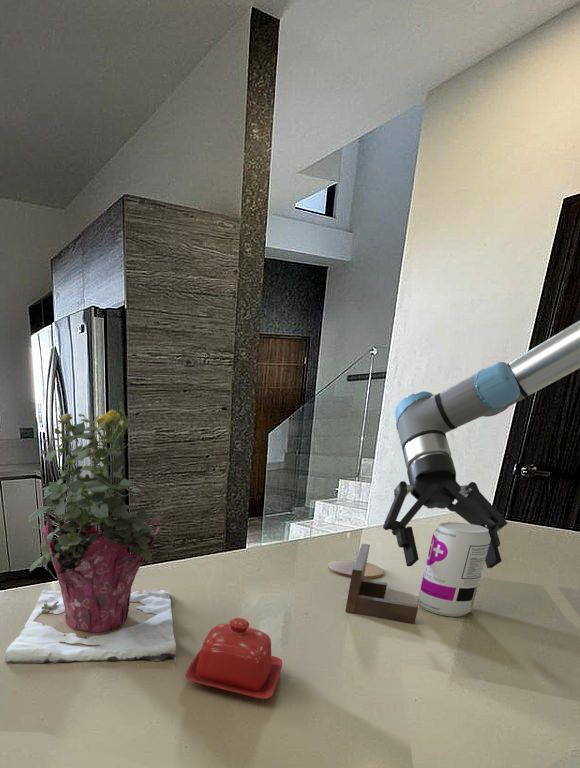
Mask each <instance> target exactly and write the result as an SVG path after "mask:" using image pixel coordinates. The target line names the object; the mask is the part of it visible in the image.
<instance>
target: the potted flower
mask: <svg viewBox="0 0 580 768" xmlns="http://www.w3.org/2000/svg"><path fill="white" fill-rule="evenodd" d="M118 405H119V410H118V412H117V410H115V409H110V410H109V411H107V412H106V413H103V414H101V416H99V415H98V414H97V415H96V416H95V418H94V420H93V422H91V421H90V419H88V418H86V416H85V414H83V413H82V414H81V413H78V414H77V415H78V417H79V418H81V419H80V421H82V422H81V423H77V424H72V422H71V420H73V416H72V413H65V414H63V415H61V409H60V408H59V407H57V409H58V411H59V415H58V418H59V419H58V421H57V423H58V425H61V430H60V426H57V427H55V425H56V424H54V425H52V427H53V428H54V434H55V435H58V437H59V438H58V437H53V438H50V440H51V441H50V442H49V443H48V446H47V448H48V450H49V451H46V450H45V449H43V450H41V449H40V452H41V453H40V456H41V458H42V457H44V455H45V454H46V456H45V458H44V459H45V461H49V462H50V463H52V461H53V459H55V457H56V456H57V453H59V455H58V457H59V458H61V457H62V455H63V453H65V452H66V453H67V455H66V457H65V462H64V463H62V465H61V466H59V467H58V468H59V470H58V472H60V473H61V478H60V479H58V480H57V481H49V482H48V486H45V487H43V488H42V491H43V495H44V497H42V500H45V499H46V498H48V497H49V500H50V503H52V505H53V506H48V505H46V506H45V505H44V506H40V507H38V508H37V509H36V510H35V511H34V512H32V513H31V515H29V516H28V524H30V523H31V522H33V521H34V520H36V519H37V518H39V516H42V515H43V514H44V513H45V512H46V513H47V514H46V516H47V518H46V519H47V520H46V521H47V522H46V523H45V526H44V527H43V529H42V534H43V537H44V540H45V543H44V542H41V543H40V551H41V553H42V556H40V557H39V558H38V559H36V560H35V561H34V562H33V563H32V564H31V565H30V568H29V572H32V571H33V570H34V569H36V568H37V567H38V565H39V564H41V563H43V564H44V565H47V564H48V563H49V562H50V560H51V563H52V566H53V568H54V570H55V573H56V577H57V581H58V585H59V586H60V587H59V588H60V590H51V589H50V590H49V589H42V590H41V593H40V595H39V597H38V599H37V601H36V603H35V606H34V609H33V610H32V611H31V614H30V616H29V618H28V619H27V621H26V622H25V625H24V626H23V628H24V629H22V630H21V631H20V633H19V635H18V636H17V637H15V638H14V640H13V642H11V643H10V644H9V646H8V647H7V648H6V650H5V652H4V663H6V664H7V663H8V664H45V663H47V662H52V663H53V664H56V663H60V662H61V663H64V662H65V663H72V662H79V663H81V662H82V661H83V662H84V661H90V662H93V661H95V662H102V661H106V662H107V661H109V662H110V661H113V662H114V661H119V660H123V661H134V660H147V661H151V662H152V661H154V662H163V661H164V660H167V659H168V658H170V659H171V658H173V660H174V662H175V664H177V657H176V654H177V653H176V652H177V651H176V650H177V647H176V646H177V643H176V638H175V635H174V634H175V633H174V624H173V623H174V618H173V614H172V603H171V602H172V601H171V592H170V589H169V590H168V589H162V590H160V589H153V588H149V589H144V590H137V591H133V592H132V586H133V583H134V581H135V578H136V575H137V573H138V571H139V569H140V568H141V566H142V564H143V563H144V561H146V562H150V563H151V561H152V558H153V554H152V552H151V551H150V550H151V548H152V546H153V544H154V542H155V538H156V535H157V533H158V532H159V531H160V530H161V528H162V526H160V525H163V522H161V521H163V519H164V518H165V515H163V512H161V514H160V513H159V511H157V512H155V513H149V514H148V513H147V511H146V510H145V509H143V508H139V509H138V511H137V513H136V512H129V509H130V510H135V508H134V506H131V505H129V504H126V503H125V502H124V501H122V498H125V497H129V495H131V494H145V495H148V496H150V497H152V498H155V496H154V495H152V494H151V493H149V491H147V490H145V491H141V489H140V488H135V487H133V482H132V480H131V481H130V480H129V479H127V478H125V477H124V478H123V473H122V469H123V468H124V465H122V462H121V461H120V460H115V461H112V460H110V456H120V455H122V454H123V451H121V450H120V449H125V448H126V447H127V445H126V443H125V442H122V444H123V445H124V446H123V447H121V446H120V444H119V443H120V441H119V440H118V439H119V438H121V437H124V435H126V430H127V429H128V427H129V426H130V421H129V419H128V417H127V416H126V412H125V406H124V403H123V401H119V403H118ZM82 417H83V419H82ZM117 420H119V421H118V422H116V421H117ZM85 423H87V424H88V423H89V424H91V425H92V426H88V427H86V425H85ZM94 423H96V424H97V426H96V425H94ZM66 424H67V425H66ZM111 429H112V430H111ZM65 431H66V433H65V434H64V432H65ZM93 431H95V432H93ZM101 431H104V432H105V434H102V433H101ZM96 432H97V433H96ZM70 433H71V434H70ZM116 433H117V436H116V435H115V434H116ZM95 434H96V435H99V437H98V439H99V440H100V441H99V440H98V439H97V436H95ZM133 434H134V432H133V431H132V432H131V435H133ZM115 437H116V438H115ZM113 438H115V439H114V440H113ZM60 439H61V440H60ZM79 439H80V442H81V444H80V442H79ZM82 439H83V440H88V441H89V442H88V443H87V444H85V445H83V443H84V442H83V440H82ZM148 439H150V440H151V441H155V440H156V439H155V438H154V437H152V436H149V437H148ZM59 440H60V444H56V445H55V447H56V448H58V449H56V450H55V449H54V450H53V448H54V445H53V442H55V441H59ZM75 440H76V443H77V444H80V445H78V446H77V447H75V448H74V449H73V450H72V448H73V446H74V445H73V444H71V446H70V449H69V446H68V445H66V444H67V443H68V442H69V443H72V442H73V441H75ZM42 442H43V443H44V444H46V443H47V442H48V439H43V440H42ZM100 443H101V444H100ZM131 443H132V442H129V443H128V445H131ZM108 444H112V446H111V447H108ZM63 445H64V447H62V446H63ZM116 445H117V446H116ZM69 451H70V452H71V453H70V452H69ZM69 457H70V458H69ZM86 458H89V459H90V460H91V461H92V462H93V465H84V466H83V465H79V466H77V465H76V464H77V460H78V461H79V462H83V461H84V460H85V459H86ZM100 463H101V464H103V465H100ZM112 464H115V465H121V466H120V467H119V468H118V471H113V472H112V475H110V474H109V469H110V467H109V466H111V465H112ZM65 466H66V467H65ZM69 466H70V469H68V468H69ZM96 466H97V467H96ZM64 467H65V469H64V470H63V469H62V468H64ZM83 471H89V472H91V473H92V474H93V476H94V477H91V475H89V473H87V474H85V475H84V476H82V475H81V474H82V473H83ZM67 475H68V477H67ZM69 477H70V478H71V479H70V478H69ZM113 477H114V478H118V479H121V481H120V482H119V483H117V484H112V482H114V481H115V480H114V479H112V478H113ZM138 477H139V478H140V477H142V475H139V474H138V475H133V476H132V478H138ZM75 479H76V480H75ZM64 480H65V481H67V483H64ZM70 481H71V482H70ZM135 484H140V481H137V482H135ZM131 487H133V488H131ZM129 488H131V489H129ZM68 489H69V490H70V491H69V492H68V494H65V493H66V492H67V491H68ZM115 490H119V491H120V490H127V491H128V492H129V493H128V494H121V493H120V492H118V491H117V492H116V494H115V493H114V492H115ZM89 492H90V493H89ZM113 493H114V494H113ZM65 500H67V503H66V502H65ZM69 507H71V509H70V510H67V511H66V509H69ZM51 509H53V510H54V519H51V517H50V513H49V512H50V510H51ZM109 513H110V514H109ZM161 515H163V516H161ZM152 516H153V518H151V517H152ZM59 517H60V518H59ZM62 520H67V521H68V523H67V522H65V521H64V522H63V521H62ZM55 523H57V527H56V528H55V529H53V525H52V524H55ZM149 523H151V524H149ZM43 524H44V522H42V523H39V524H37V525H35V526H31V528H30V530H37V531H39V530H41V525H43ZM154 524H156V525H159V526H157V527H156V529H154V528H152V526H154ZM97 525H99V528H100V532H99V531H98V530H97V528H96V526H97ZM77 530H78V531H77ZM154 531H155V532H154ZM152 532H153V533H152ZM54 535H57V536H56V538H54ZM130 546H132V547H133V548H130ZM129 548H130V552H129V551H128V549H129ZM130 603H140V604H142V605H138V606H135V610H140V611H142V612H143V613H144V614H153V615H154V616H152V617H150V618H148V619H147V620H145V621H142V622H139V623H137V624H134V625H131V626H128V627H123V628H121V629H119V630H115V629H117V627H122V626H123V625H124V623H125V621H127V619H128V616H129V611H130ZM64 612H65V615H64V616H65V624H67V625H68V626H69V627H70V628H72V629H74V630H77V631H81V632H88V633H94V634H95V633H96V634H97V633H101V632H107V631H108V630H110V631H111V630H112V632H109V633H107V634H102V635H92V636H90V637H88V636H85V637H84V638H82V637H78V636H77V633H74V632H68V633H65V632H61V631H59V630H57V629H56V628H55V627H53V626H51V625H47V624H45V625H44V623H42V622H37V621H35V620H36V619H37V617H39V616H40V614H45V613H47V614H52V613H53V614H54V615H59V614H62V613H64ZM113 630H114V631H113ZM75 644H83V645H86V646H82V645H81V646H80V645H75Z"/></svg>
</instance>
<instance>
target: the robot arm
mask: <svg viewBox="0 0 580 768" xmlns="http://www.w3.org/2000/svg"><path fill="white" fill-rule="evenodd" d="M579 369H580V320H578V321H576V322H575V323H573V324H571V325H569V326H568V327H565V329H563V330H561V331H560V332H558V333H556V334H555V335H553V336H551V337H550V338H548V339H547V340H545V341H543V342H541V343H540V344H538V345H536V346H534V347H533V348H532V349H530V350H528V351H526V352H524V353H523V354H521V355H520V356H518V357H516V358H514V359H513V360H511V361H509V362H508V363H506V362H505V361H497V362H496V363H494V364H492V365H489V366H488V367H485V368H482V369H480V370H478V372H476V373H474V374H472V375H471V376H469V377H467V378H465V379H463V380H461V381H460V382H457V383H456V384H454V385H452V386H450V387H449V388H447V389H445V390H443V391H442V392H439V393H437V394H434V393H432V392H430V391H425V390H423V391H419V392H417V393H411V394H409V395H406V396H405V397H404V398H403V399H401V400H400V401H399V402H398V403H397V405H396V407H395V409H394V410H395V412H394V415H395V416H394V417H395V426H396V431H397V433H398V438H399V442H400V446H401V451H402V454H403V459H404V463H405V468H406V470H407V471H406V473H407V478H408V483H409V484H408V483H407V482H406V481H405V480H401V481H400V482H399V483H398V484H397V485H396V487H395V488H394V490H393V493H394V495H393V496H394V497H393V498H394V499H393V501H392V504H391V506H390V508H389V511H388V513H387V515H386V518H385V521H384V523H383V525H382V528H383V530H385V531H389V530H390V531H391V534H392V535H393V536H395V537H396V543H397V546H398V547H399V548H400V549H401V548H402V549H403V554H404V559H405V564H406V567H412V566H414V564H416V562H418V561H419V553H418V550H417V544H416V539H415V536H414V535H415V534H414V531H413V526H407V525H409V523H410V522H411V521H412V520H413V518H414V517H415V516H416V515H417V513H418V512H419V511H420V510H421V508H423V506H424V507H425V508H427V509H435V508H436V509H447V510H448V511H449V512H451V513H456V514H457V515H458V516H460V517H461V519H463V520H465V521H466V523H468V524H474V525H478V526H482V527H485V528H487V529H489V530H488V532H489V535H490V538H491V541H490V544H489V548H488V551H487V555H486V559H485V562H484V563H485V565H486V568H487V569H493V568H494V567H495V566H497V565H498V564H499V563H502V557H501V554H500V551H499V547H501V541H500V536H499V534H498V532H499V531H500V530H502V529H503V528H504V527H505V526H507V525H508V521H507V520H506V519H505V518H504V517H503V515H502V514H501V513H500V512H499V511H498V510H497V509H496V508H495V507H494V506H493V505H492V504H491V502H490V501H489V500H488V499H487V498H486V497H485V496H484V495H483V493H482V492H481V491H480V489H479V486H478V484H477V483H476V482H474V481H470V482H469V483H468V484H467V485H466V484H465V485H460V484H459V482H458V481H457V471H456V467H455V464H454V460H453V458H452V452H451V448H450V445H449V441H448V438H447V436H446V435H447V433H449V432H451V431H454V430H456V429H458V428H460V427H462V426H464V425H466V424H469V423H471V422H472V421H475V420H477V419H479V418H482V417H483V418H485V417H494V416H497V415H498V414H501V413H503V412H504V411H506V410H507V409H508V408H509V407H511V406H513V405H514V404H517V403H518V402H520V401H522V400H524V399H526V398H527V397H529V396H531V395H532V394H533V395H534V393H536V392H538V391H540V390H542V389H544V388H545V387H547V386H549V385H551V384H553V383H555V382H557V381H558V380H561V379H562V378H564V377H566V376H569V374H571V373H573V372H575V371H577V370H579ZM409 494H410V495H411V496H412V497H413V498H415V499H416V501H415V503H414V504H413V505H412V506H411V507H410V508H409V510H408V511H407V512H406V513H405V515H404V516H403V517H402V518H401V520H397V519H398V516H399V514H400V512H401V510H402V507H403V504H404V502H405V499H406V497H407V496H408V495H409ZM455 501H457V502H456V503H454V502H455Z"/></svg>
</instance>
